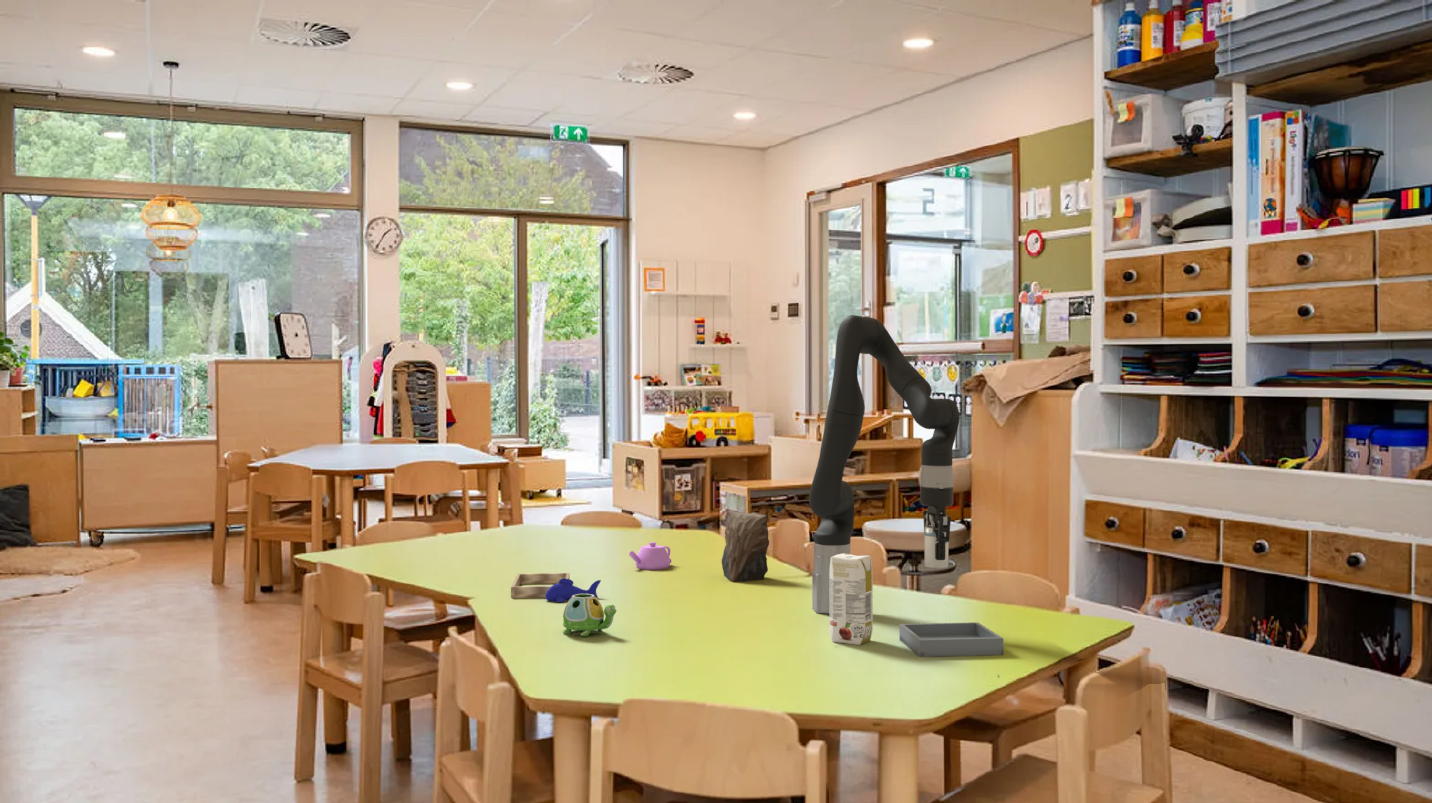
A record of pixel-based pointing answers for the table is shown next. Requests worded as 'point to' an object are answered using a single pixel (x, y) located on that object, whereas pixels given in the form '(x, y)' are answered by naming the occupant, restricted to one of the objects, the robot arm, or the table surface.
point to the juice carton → (851, 599)
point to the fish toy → (568, 590)
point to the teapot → (652, 557)
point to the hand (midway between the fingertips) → (936, 557)
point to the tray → (951, 639)
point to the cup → (933, 550)
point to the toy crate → (535, 579)
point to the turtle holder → (586, 614)
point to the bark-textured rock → (745, 547)
